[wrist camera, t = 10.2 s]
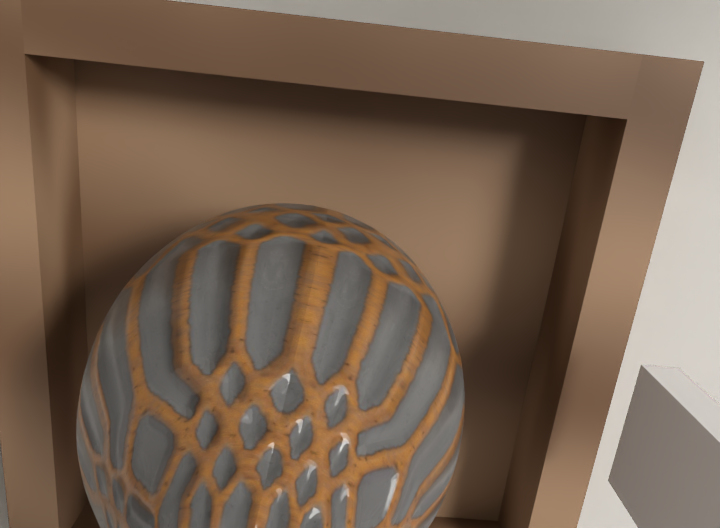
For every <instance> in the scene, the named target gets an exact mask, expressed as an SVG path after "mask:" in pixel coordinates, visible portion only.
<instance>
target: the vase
mask: <svg viewBox="0 0 720 528" xmlns="http://www.w3.org/2000/svg"><path fill="white" fill-rule="evenodd" d="M464 408H465V392H464V379H463V369H462V363H461V357H460V353H459V349H458V345H457V342H456V339H455V335H454V332H453V329H452V327H451V324H450V321H449V319H448V317H447V314H446V312H445V310H444V308H443V306H442V304H441V302H440V300H439V298H438V296H437V294H436V293H435V291H434V289H433V287H432V286H431V285H430V283H429V282H428V280H427V279H426V277H425V276H424V274H423V273H422V271H421V270H420V269H419V268H418V266H417V265H416V264H415V263H414V261H413V260H412V259H411V258H410V257H409V256H408V255H407V254H406V253H405V252H404V251H403V250H402V249H401V248H400V247H399V246H397V245H396V244H395V243H394V242H393V241H391V240H390V239H389V238H387V237H386V236H385V235H383V234H382V233H380V232H379V231H377V230H376V229H374V228H372V227H371V226H369V225H367V224H365V223H363V222H361V221H359V220H357V219H355V218H352V217H350V216H348V215H345V214H343V213H340V212H337V211H334V210H330V209H327V208H322V207H318V206H312V205H304V204H293V203H274V204H261V205H254V206H248V207H244V208H239V209H236V210H232V211H229V212H226V213H223V214H220V215H218V216H215V217H213V218H211V219H209V220H207V221H204V222H202V223H200V224H199V225H197V226H195V227H193V228H192V229H190V230H188V231H186V232H185V233H183V234H181V235H180V236H179V237H177V238H176V239H174V240H173V241H171V242H170V243H169V244H167V245H166V246H165V247H164V248H162V249H161V250H160V251H159V252H158V253H156V254H155V255H154V256H153V257H152V258H150V259H149V260H148V261H147V262H146V263H145V264H144V266H143V267H142V268H141V269H140V270H139V271H138V272H137V273H136V274H135V275H134V276H133V277H132V278H131V280H130V281H129V282H128V283H127V284H126V286H125V287H124V288H123V289H122V291H121V292H120V294H119V295H118V297H117V298H116V300H115V301H114V303H113V305H112V306H111V308H110V310H109V312H108V313H107V315H106V317H105V319H104V320H103V322H102V324H101V327H100V329H99V331H98V333H97V336H96V338H95V341H94V343H93V346H92V349H91V352H90V354H89V357H88V361H87V364H86V368H85V371H84V375H83V380H82V384H81V389H80V395H79V402H78V409H77V426H76V439H77V453H78V460H79V466H80V471H81V476H82V480H83V484H84V488H85V491H86V494H87V497H88V500H89V502H90V505H91V508H92V510H93V512H94V515H95V517H96V519H97V522H98V524H99V526H100V528H429V526H430V525H431V523H432V521H433V520H434V518H435V516H436V515H437V512H438V510H439V508H440V506H441V504H442V502H443V500H444V498H445V495H446V493H447V490H448V488H449V485H450V483H451V480H452V476H453V473H454V469H455V466H456V462H457V459H458V454H459V449H460V443H461V438H462V432H463V422H464Z"/></svg>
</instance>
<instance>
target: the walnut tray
mask: <svg viewBox="0 0 720 528" xmlns="http://www.w3.org/2000/svg"><path fill="white" fill-rule="evenodd" d="M703 64H704V62H703V61H695V60H686V59H677V58H668V57H659V56H651V55H642V54H633V53H624V52H616V51H607V50H598V49H589V48H581V47H572V46H563V45H554V44H546V43H537V42H528V41H519V40H510V39H502V38H493V37H484V36H475V35H467V34H458V33H449V32H440V31H432V30H423V29H414V28H405V27H396V26H388V25H379V24H370V23H361V22H353V21H344V20H335V19H326V18H318V17H309V16H300V15H291V14H282V13H274V12H265V11H256V10H247V9H239V8H230V7H221V6H212V5H204V4H195V3H186V2H177V1H168V0H0V443H1V452H2V462H3V471H4V481H5V490H6V500H7V509H8V519H9V528H100V526H99V524H98V522H97V519H96V517H95V515H94V512H93V510H92V508H91V505H90V502H89V500H88V497H87V494H86V491H85V488H84V484H83V480H82V476H81V471H80V466H79V460H78V453H77V439H76V426H77V409H78V402H79V395H80V389H81V384H82V380H83V375H84V371H85V368H86V364H87V361H88V357H89V354H90V352H91V349H92V346H93V343H94V341H95V338H96V336H97V333H98V331H99V329H100V327H101V324H102V322H103V320H104V319H105V317H106V315H107V313H108V312H109V310H110V308H111V306H112V305H113V303H114V301H115V300H116V298H117V297H118V295H119V294H120V292H121V291H122V289H123V288H124V287H125V286H126V284H127V283H128V282H129V281H130V280H131V278H132V277H133V276H134V275H135V274H136V273H137V272H138V271H139V270H140V269H141V268H142V267H143V266H144V264H145V263H146V262H147V261H148V260H149V259H150V258H152V257H153V256H154V255H155V254H156V253H158V252H159V251H160V250H161V249H162V248H164V247H165V246H166V245H167V244H169V243H170V242H171V241H173V240H174V239H176V238H177V237H179V236H180V235H181V234H183V233H185V232H186V231H188V230H190V229H192V228H193V227H195V226H197V225H199V224H200V223H202V222H204V221H207V220H209V219H211V218H213V217H215V216H218V215H220V214H223V213H226V212H229V211H232V210H236V209H239V208H244V207H248V206H254V205H261V204H274V203H293V204H304V205H312V206H318V207H322V208H327V209H330V210H334V211H337V212H340V213H343V214H345V215H348V216H350V217H352V218H355V219H357V220H359V221H361V222H363V223H365V224H367V225H369V226H371V227H372V228H374V229H376V230H377V231H379V232H380V233H382V234H383V235H385V236H386V237H387V238H389V239H390V240H391V241H393V242H394V243H395V244H396V245H397V246H399V247H400V248H401V249H402V250H403V251H404V252H405V253H406V254H407V255H408V256H409V257H410V258H411V259H412V260H413V261H414V263H415V264H416V265H417V266H418V268H419V269H420V270H421V271H422V273H423V274H424V276H425V277H426V279H427V280H428V282H429V283H430V285H431V286H432V287H433V289H434V291H435V293H436V294H437V296H438V298H439V300H440V302H441V304H442V306H443V308H444V310H445V312H446V314H447V317H448V319H449V321H450V324H451V327H452V329H453V332H454V335H455V339H456V342H457V345H458V349H459V353H460V357H461V363H462V369H463V379H464V392H465V408H464V422H463V432H462V438H461V443H460V449H459V454H458V459H457V462H456V466H455V469H454V473H453V476H452V480H451V483H450V485H449V488H448V490H447V493H446V495H445V498H444V500H443V502H442V504H441V506H440V508H439V510H438V512H437V515H436V516H435V518H434V520H433V521H432V523H431V525H430V526H429V528H577V524H578V520H579V517H580V513H581V509H582V506H583V502H584V499H585V495H586V491H587V488H588V484H589V480H590V477H591V473H592V469H593V466H594V462H595V458H596V455H597V451H598V447H599V444H600V440H601V436H602V433H603V429H604V426H605V422H606V418H607V415H608V411H609V407H610V404H611V400H612V396H613V393H614V389H615V385H616V382H617V378H618V374H619V371H620V367H621V363H622V360H623V356H624V352H625V349H626V345H627V342H628V338H629V334H630V331H631V327H632V323H633V320H634V316H635V312H636V309H637V305H638V301H639V298H640V294H641V290H642V287H643V283H644V279H645V276H646V272H647V269H648V265H649V261H650V258H651V254H652V250H653V247H654V243H655V239H656V236H657V232H658V228H659V225H660V221H661V217H662V214H663V210H664V206H665V203H666V199H667V195H668V192H669V188H670V185H671V181H672V177H673V174H674V170H675V166H676V163H677V159H678V155H679V152H680V148H681V144H682V141H683V137H684V133H685V130H686V126H687V122H688V119H689V115H690V112H691V108H692V104H693V101H694V97H695V93H696V90H697V86H698V82H699V79H700V75H701V71H702V68H703Z"/></svg>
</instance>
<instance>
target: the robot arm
mask: <svg viewBox="0 0 720 528" xmlns="http://www.w3.org/2000/svg"><path fill="white" fill-rule="evenodd" d="M608 481H609V483H610V484H611V486H612V487H613V489H614V490H615V492H616V494H617V495H618V497H619V498H620V500H621V501H622V503H623V505H624V506H625V508H626V509H627V511H628V512H629V514H630V516H631V517H632V519H633V520H634V522H635V523H636V525H637V527H638V528H720V404H719V403H718V402H717V401H716V400H714V399H713V398H712V397H711V396H710V395H709V394H708V393H707V392H705V391H704V390H703V389H702V388H701V387H700V386H699V385H698V384H696V383H695V382H694V381H693V380H692V379H691V378H690V377H689V376H687V375H686V374H685V373H684V372H683V371H682V370H681V369H680V368H674V367H663V366H652V365H641V367H640V371H639V374H638V378H637V381H636V385H635V388H634V392H633V395H632V399H631V402H630V406H629V409H628V413H627V416H626V420H625V423H624V427H623V430H622V434H621V437H620V441H619V444H618V448H617V451H616V455H615V458H614V462H613V465H612V469H611V472H610V476H609V479H608Z"/></svg>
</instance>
